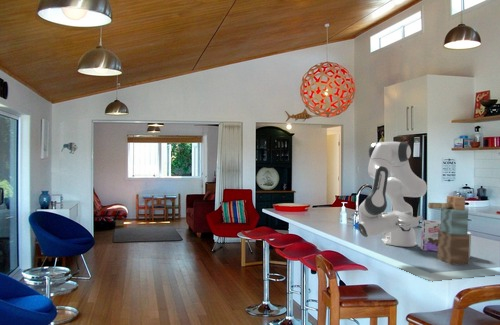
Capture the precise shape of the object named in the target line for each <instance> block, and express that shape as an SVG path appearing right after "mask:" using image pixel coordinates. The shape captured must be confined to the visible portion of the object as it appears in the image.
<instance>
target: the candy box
mask: <svg viewBox="0 0 500 325" xmlns="http://www.w3.org/2000/svg"><path fill="white" fill-rule="evenodd" d="M440 226H441V220H433V219H431V220H429V219H422V220H421V234H420V236H421V237H420V249H421V250H422V251H423V252H424V251H425V252H438V231H440Z"/></svg>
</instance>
